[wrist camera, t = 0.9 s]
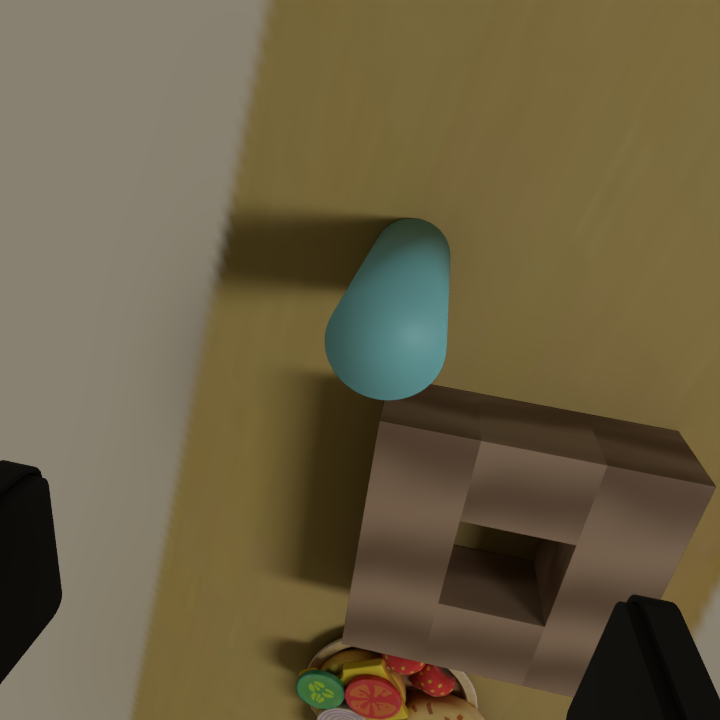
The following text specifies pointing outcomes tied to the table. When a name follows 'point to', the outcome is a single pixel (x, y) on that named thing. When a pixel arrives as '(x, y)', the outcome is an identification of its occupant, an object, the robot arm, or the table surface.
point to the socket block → (519, 515)
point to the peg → (394, 314)
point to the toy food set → (383, 687)
